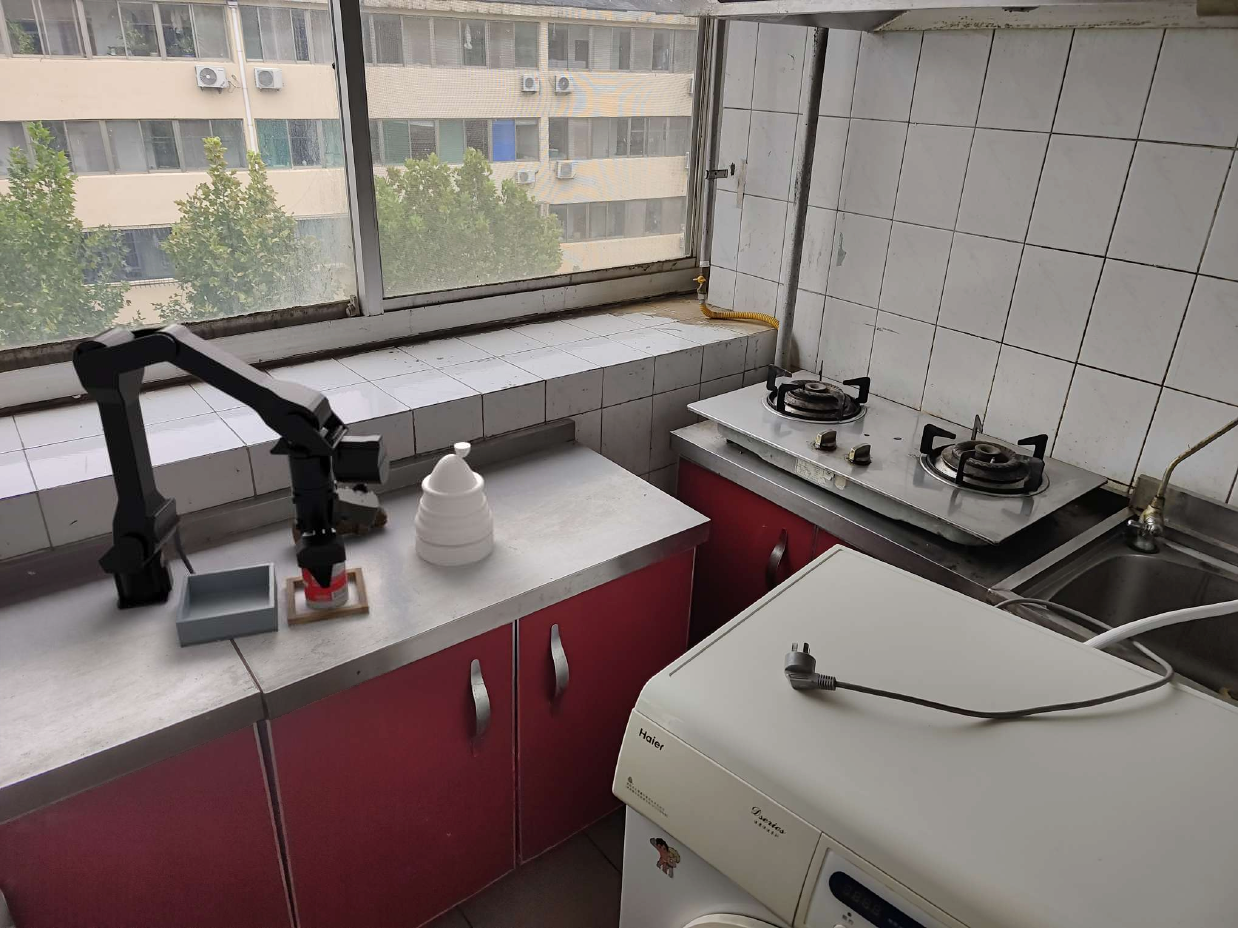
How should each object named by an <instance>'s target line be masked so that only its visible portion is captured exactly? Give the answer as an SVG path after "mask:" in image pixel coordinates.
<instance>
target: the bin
mask: <svg viewBox="0 0 1238 928" xmlns="http://www.w3.org/2000/svg"><path fill="white" fill-rule="evenodd" d="M275 567H276V566H275V563H274V562H266V563H259V564H253V565H252V564H251V565H247V566H246V565H245V566H239V567H232V568H225V569H218V570H210V571H205V572H198V573H190V574H183V577H182V583H181V588H180V595H179V601H178V605H177V606H178V607H177V613H176V619H175V626H176V630H177V635H178V639H179V644H180V648H186V647H190V646H196V645H203V644H208V643H209V644H210V643H214V642H215V643H216V642H221V641H227V640H232V639H238V638H243V637H250V636H256V635H262V634H268V633H275V632H279V610H278V606H279V605H278V603H279V600H278V582H277V575H276V574H277V573H276V568H275Z"/></svg>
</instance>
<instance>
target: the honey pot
mask: <svg viewBox="0 0 1238 928" xmlns="http://www.w3.org/2000/svg"><path fill="white" fill-rule="evenodd" d="M453 449H454V451H455V454H454V453H453V454H452V453H451V454H447V455H445V456H443V457H442V458H441V459H440V460H439V461H438V462H437V464H436V465H435V466H434V468H433V471H432V472H431V474H428V475H427V476H426V477H424V479H423V480H422V482H421V489H422V491H423V494H422V496H421V498H420V500H419V506H418V509H417V513H416V515H415V516H414V535H415V537H414V538H415V550H416V553H417V555H418V556H419V557H420V558H421V559H423V560H424V561H426V562H427V563H430V564H435V565H437V566H445V567H446V566H447V567H453V566H456V567H457V566H464V565H470V564H474V563H475V562H478V561H481V560H482V559H484V558H485V557H488V555H489V554H491V552H492V551H493V549H494V547H495V546H494V545H495V542H494V541H495V540H494V539H495V538H494V536H495V535H494V516H493V512H492V511H491V510H490V506H489V504H488V502H487V497H486V496H485V495H486V494H484V493H483V488H484V487H485V480H484V478H483V477H482V475H481V474H479V473H477V472H474V471H473V470H472V469H471V467H470V466H469V465H468V463H467V462H466V461H465V460H464V458H465V457H467V456H468V454H469V453H470V451H471V444H470V443H469V442H465V441H463V442H457V443H455V444H454V445H453Z"/></svg>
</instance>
